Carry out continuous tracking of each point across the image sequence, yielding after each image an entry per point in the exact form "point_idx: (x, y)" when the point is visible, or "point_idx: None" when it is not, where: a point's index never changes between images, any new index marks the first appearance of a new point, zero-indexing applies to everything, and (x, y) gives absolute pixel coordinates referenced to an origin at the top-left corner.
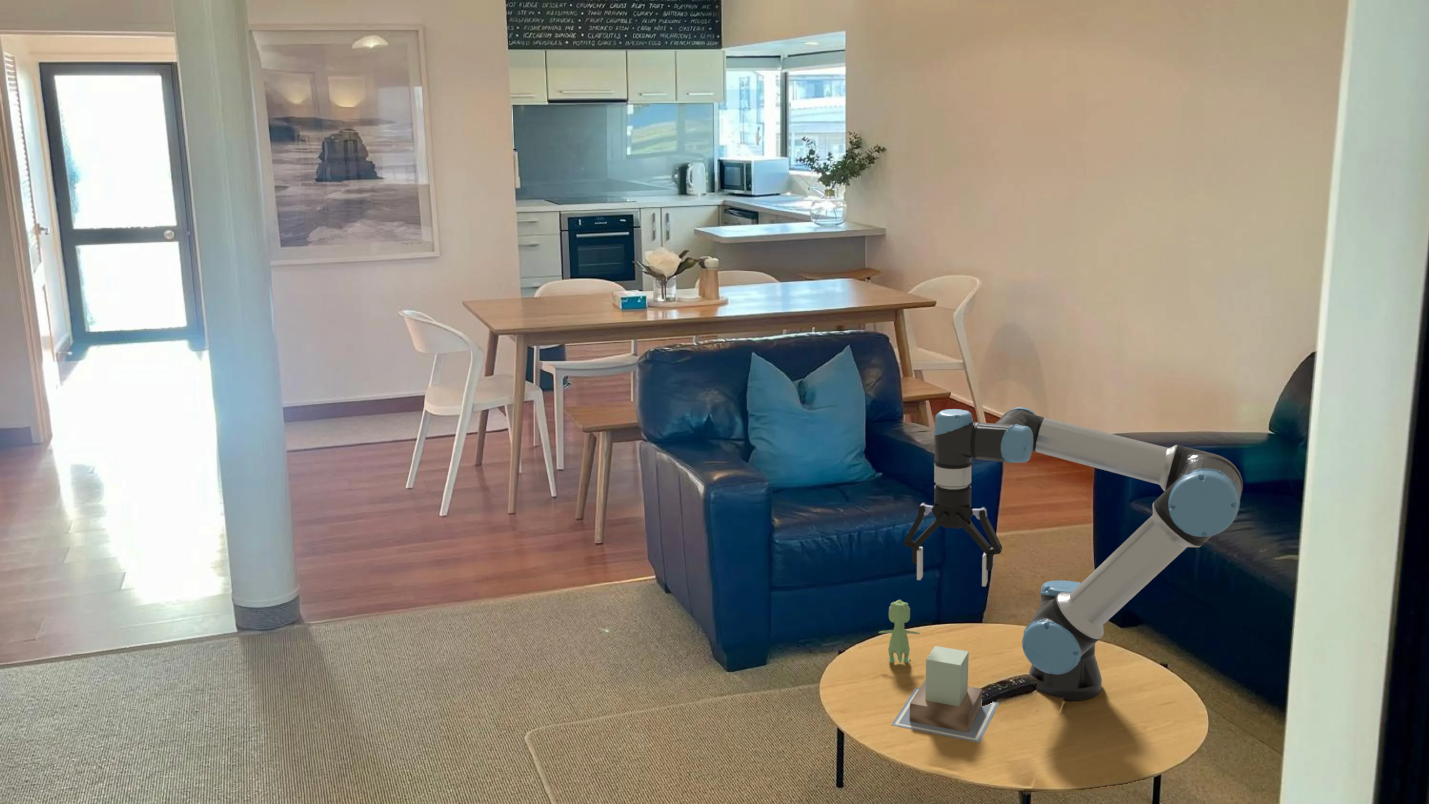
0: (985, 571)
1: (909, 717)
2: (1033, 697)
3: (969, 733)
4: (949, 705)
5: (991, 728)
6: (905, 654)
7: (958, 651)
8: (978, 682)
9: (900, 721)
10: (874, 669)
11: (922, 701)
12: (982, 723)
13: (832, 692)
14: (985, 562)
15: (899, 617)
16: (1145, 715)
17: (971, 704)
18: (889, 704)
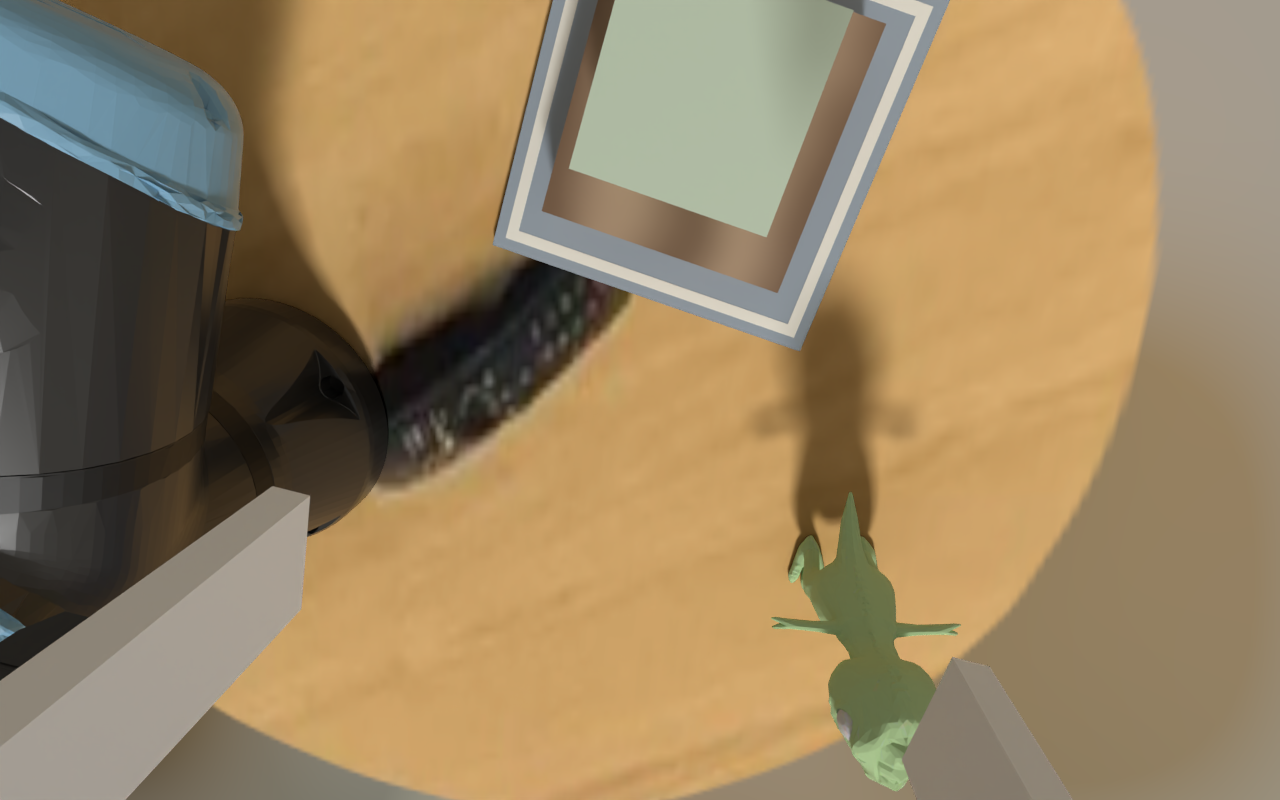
0: (139, 587)
1: None
2: (375, 317)
3: None
4: None
5: (532, 42)
6: (817, 569)
7: (630, 161)
8: (560, 420)
9: (903, 35)
10: (933, 505)
11: None
12: (564, 54)
13: (1143, 309)
14: (4, 688)
15: (892, 664)
16: None
17: (597, 40)
18: (919, 219)
